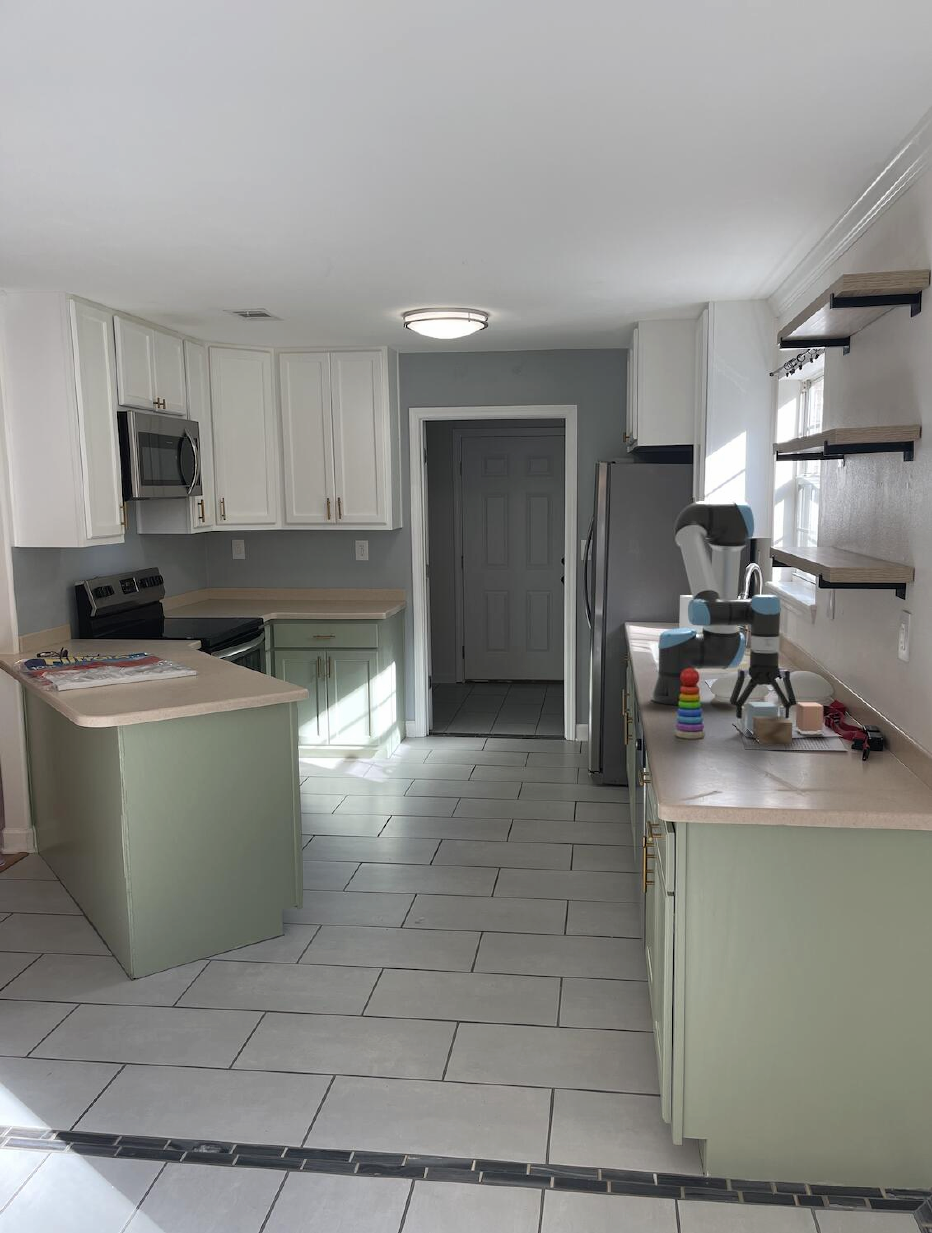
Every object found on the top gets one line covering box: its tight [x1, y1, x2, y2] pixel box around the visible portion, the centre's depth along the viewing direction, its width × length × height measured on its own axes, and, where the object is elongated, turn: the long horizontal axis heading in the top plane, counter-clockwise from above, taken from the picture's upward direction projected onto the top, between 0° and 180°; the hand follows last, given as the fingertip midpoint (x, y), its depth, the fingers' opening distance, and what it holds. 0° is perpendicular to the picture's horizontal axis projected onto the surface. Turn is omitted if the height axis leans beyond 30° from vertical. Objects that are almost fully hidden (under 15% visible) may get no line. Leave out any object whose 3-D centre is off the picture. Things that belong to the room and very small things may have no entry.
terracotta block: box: [795, 701, 824, 731], centre depth 268 cm, size 6×6×8 cm
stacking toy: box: [674, 668, 706, 740], centre depth 263 cm, size 8×8×19 cm
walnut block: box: [752, 715, 793, 746], centre depth 259 cm, size 8×8×6 cm
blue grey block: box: [746, 701, 779, 732], centre depth 269 cm, size 6×6×8 cm
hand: (761, 729), depth 269 cm, fingers open, 10 cm apart
